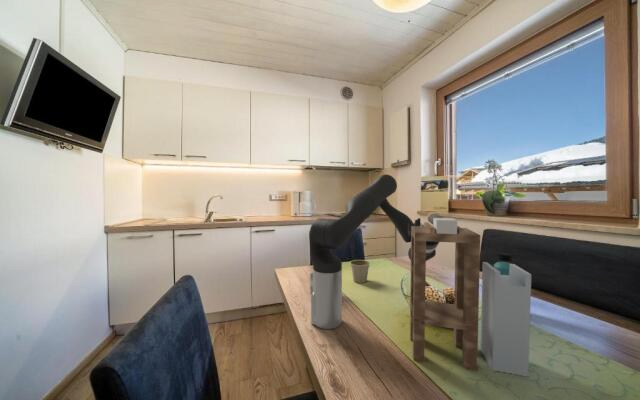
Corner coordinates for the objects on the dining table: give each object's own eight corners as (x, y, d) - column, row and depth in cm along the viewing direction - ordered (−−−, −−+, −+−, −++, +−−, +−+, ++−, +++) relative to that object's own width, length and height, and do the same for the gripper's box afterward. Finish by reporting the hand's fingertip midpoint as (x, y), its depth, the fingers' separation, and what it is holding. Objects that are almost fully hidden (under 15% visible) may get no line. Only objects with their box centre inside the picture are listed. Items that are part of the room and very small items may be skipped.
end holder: (492, 370, 58) (495, 271, 57) (480, 349, 66) (482, 261, 65) (528, 376, 56) (531, 274, 55) (511, 354, 64) (514, 264, 63)
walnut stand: (413, 360, 62) (415, 227, 61) (409, 335, 73) (411, 221, 71) (477, 370, 58) (480, 229, 57) (463, 343, 69) (466, 223, 67)
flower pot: (346, 279, 118) (346, 261, 118) (362, 276, 122) (362, 258, 122) (356, 286, 110) (357, 266, 110) (374, 282, 114) (374, 264, 114)
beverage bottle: (505, 315, 84) (507, 256, 83) (487, 306, 90) (488, 252, 89) (520, 313, 85) (521, 255, 85) (501, 304, 92) (502, 250, 91)
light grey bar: (436, 233, 59) (436, 219, 59) (424, 222, 79) (425, 212, 79) (457, 234, 58) (457, 220, 58) (440, 223, 77) (440, 212, 77)
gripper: (405, 228, 92) (409, 209, 78) (448, 230, 88) (459, 210, 74) (406, 248, 88) (409, 232, 75) (450, 251, 85) (462, 234, 71)
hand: (434, 221), depth 74 cm, fingers open, 8 cm apart
